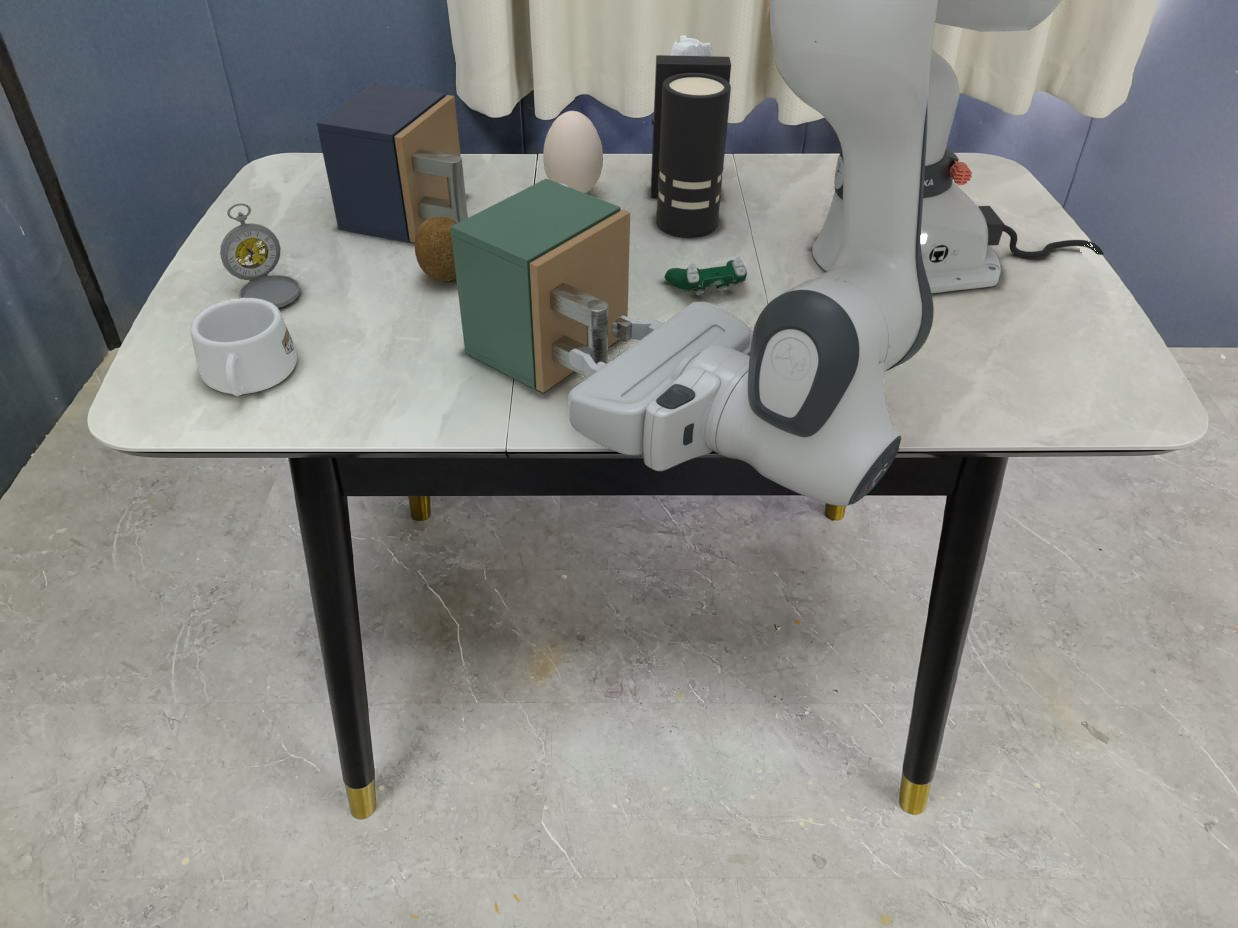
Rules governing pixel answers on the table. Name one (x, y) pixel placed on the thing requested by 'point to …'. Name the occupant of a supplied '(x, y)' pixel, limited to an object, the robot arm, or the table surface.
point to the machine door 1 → (432, 167)
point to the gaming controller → (707, 276)
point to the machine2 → (514, 268)
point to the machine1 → (371, 158)
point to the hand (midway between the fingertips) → (595, 339)
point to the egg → (573, 152)
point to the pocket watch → (257, 262)
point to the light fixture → (689, 141)
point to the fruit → (436, 248)
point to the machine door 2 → (579, 297)
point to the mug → (242, 346)
